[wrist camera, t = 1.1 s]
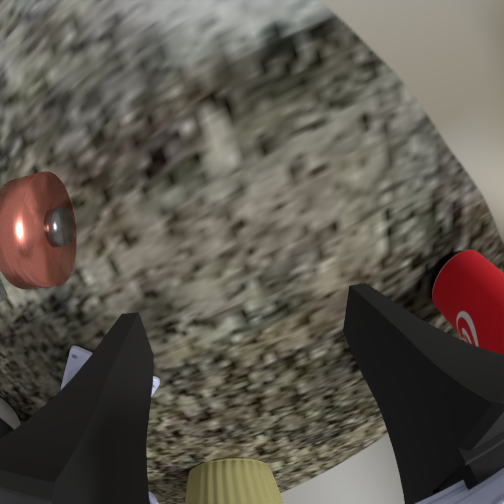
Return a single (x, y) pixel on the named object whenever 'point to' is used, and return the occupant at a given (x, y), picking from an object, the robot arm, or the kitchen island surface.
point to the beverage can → (472, 299)
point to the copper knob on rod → (36, 232)
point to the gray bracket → (2, 292)
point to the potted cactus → (232, 483)
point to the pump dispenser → (7, 418)
